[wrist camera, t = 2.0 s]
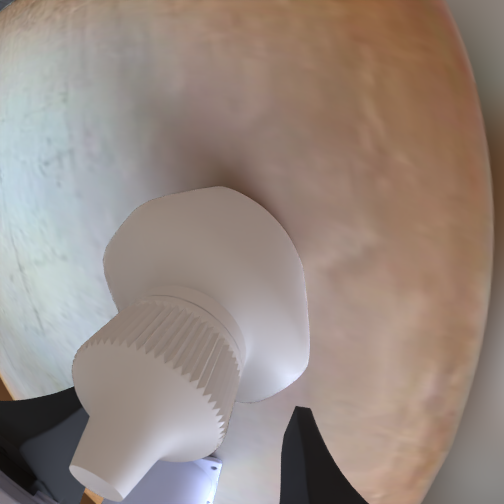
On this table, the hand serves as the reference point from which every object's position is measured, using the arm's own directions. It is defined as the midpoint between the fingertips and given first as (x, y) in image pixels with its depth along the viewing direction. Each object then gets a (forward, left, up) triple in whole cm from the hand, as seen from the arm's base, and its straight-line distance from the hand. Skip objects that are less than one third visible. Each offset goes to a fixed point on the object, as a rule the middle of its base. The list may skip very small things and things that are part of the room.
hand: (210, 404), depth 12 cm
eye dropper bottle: (+6, 0, -4) cm, 8 cm away
